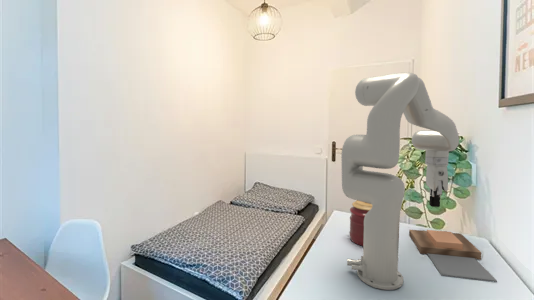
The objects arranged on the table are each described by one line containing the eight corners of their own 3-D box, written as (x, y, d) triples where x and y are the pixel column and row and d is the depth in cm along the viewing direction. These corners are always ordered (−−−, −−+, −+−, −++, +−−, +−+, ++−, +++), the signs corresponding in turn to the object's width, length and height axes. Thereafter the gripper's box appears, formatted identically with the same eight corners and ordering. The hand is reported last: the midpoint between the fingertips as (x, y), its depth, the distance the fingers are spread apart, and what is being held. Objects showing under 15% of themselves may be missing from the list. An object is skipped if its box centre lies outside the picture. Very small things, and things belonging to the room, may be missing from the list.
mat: (441, 275, 78) (441, 274, 78) (427, 254, 90) (427, 253, 90) (497, 282, 75) (497, 280, 75) (474, 259, 87) (474, 258, 87)
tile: (436, 247, 91) (436, 241, 90) (426, 234, 100) (426, 229, 100) (462, 249, 89) (463, 243, 88) (450, 236, 98) (450, 231, 98)
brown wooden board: (420, 253, 91) (420, 246, 91) (409, 235, 106) (409, 229, 105) (481, 259, 87) (481, 252, 86) (460, 239, 101) (460, 233, 101)
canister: (382, 251, 93) (383, 203, 91) (345, 242, 100) (346, 198, 98) (386, 237, 104) (388, 194, 102) (353, 230, 111) (354, 190, 109)
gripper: (456, 164, 94) (453, 213, 96) (440, 157, 108) (438, 200, 110) (432, 164, 96) (430, 212, 98) (420, 157, 110) (418, 199, 112)
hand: (434, 205), depth 104 cm, fingers closed
